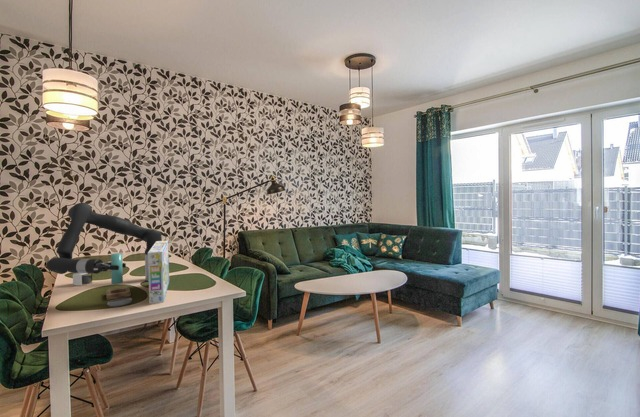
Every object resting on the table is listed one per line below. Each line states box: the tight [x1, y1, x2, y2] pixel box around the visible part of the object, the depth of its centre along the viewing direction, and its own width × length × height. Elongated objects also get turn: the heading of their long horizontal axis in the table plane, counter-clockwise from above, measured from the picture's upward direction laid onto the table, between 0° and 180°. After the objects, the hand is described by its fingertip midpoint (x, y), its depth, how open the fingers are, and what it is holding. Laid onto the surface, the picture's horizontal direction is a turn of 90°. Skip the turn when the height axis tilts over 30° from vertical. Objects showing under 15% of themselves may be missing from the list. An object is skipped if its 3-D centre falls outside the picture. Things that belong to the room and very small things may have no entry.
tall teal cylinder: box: [110, 252, 124, 285], centre depth 166 cm, size 5×5×15 cm
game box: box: [148, 240, 170, 305], centre depth 183 cm, size 40×7×27 cm, turn 21°
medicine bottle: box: [72, 273, 93, 287], centre depth 200 cm, size 7×7×12 cm
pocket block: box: [105, 286, 131, 301], centre depth 178 cm, size 11×11×2 cm
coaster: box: [106, 297, 133, 308], centre depth 165 cm, size 11×11×1 cm
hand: (121, 266), depth 166 cm, fingers closed on tall teal cylinder, 5 cm apart
